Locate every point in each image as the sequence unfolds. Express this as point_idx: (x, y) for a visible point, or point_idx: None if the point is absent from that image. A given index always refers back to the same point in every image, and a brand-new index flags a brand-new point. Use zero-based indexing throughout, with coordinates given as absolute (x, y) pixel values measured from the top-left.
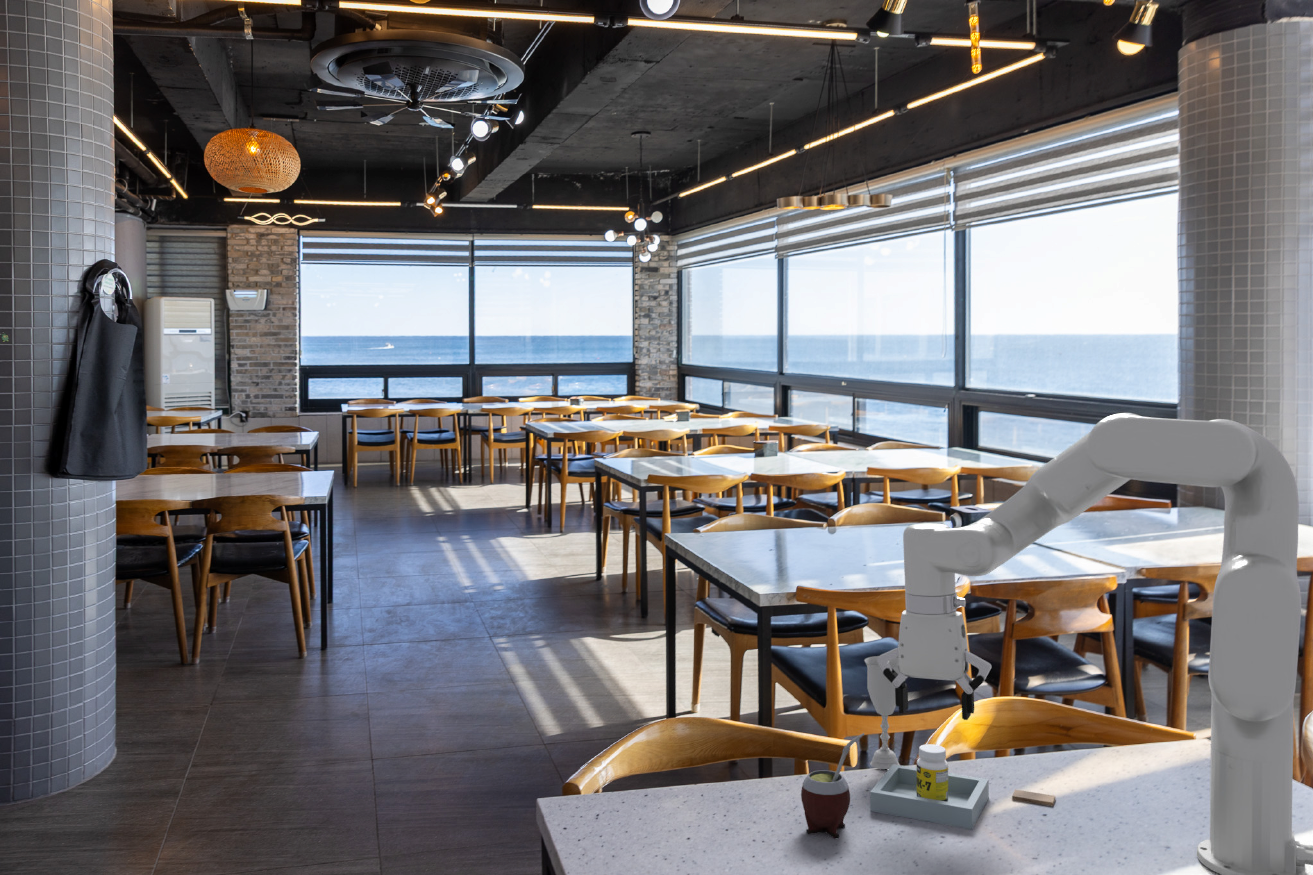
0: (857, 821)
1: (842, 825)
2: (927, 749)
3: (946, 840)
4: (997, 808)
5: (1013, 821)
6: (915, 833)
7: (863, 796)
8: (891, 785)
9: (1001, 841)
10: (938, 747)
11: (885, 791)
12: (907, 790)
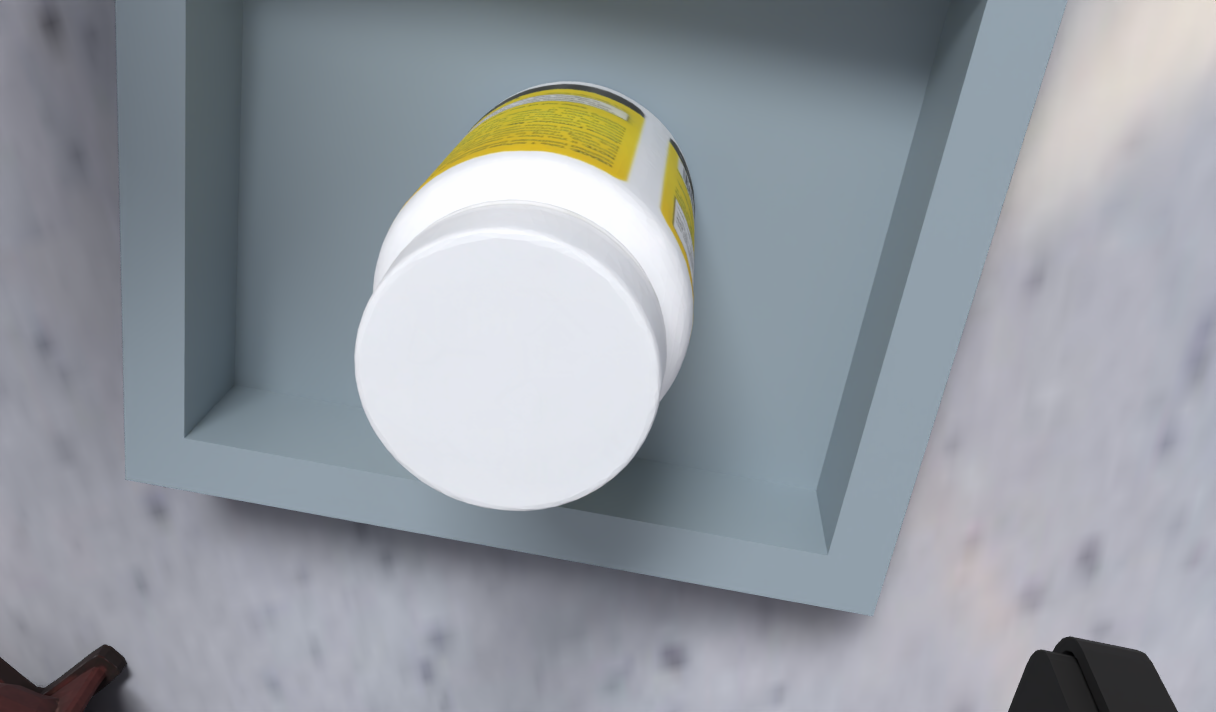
0: (164, 573)
1: (109, 682)
2: (455, 434)
3: (697, 698)
4: (1082, 125)
5: (1161, 343)
6: (517, 652)
7: (68, 166)
8: (220, 93)
9: (1021, 649)
10: (572, 331)
11: (228, 449)
12: (355, 14)
